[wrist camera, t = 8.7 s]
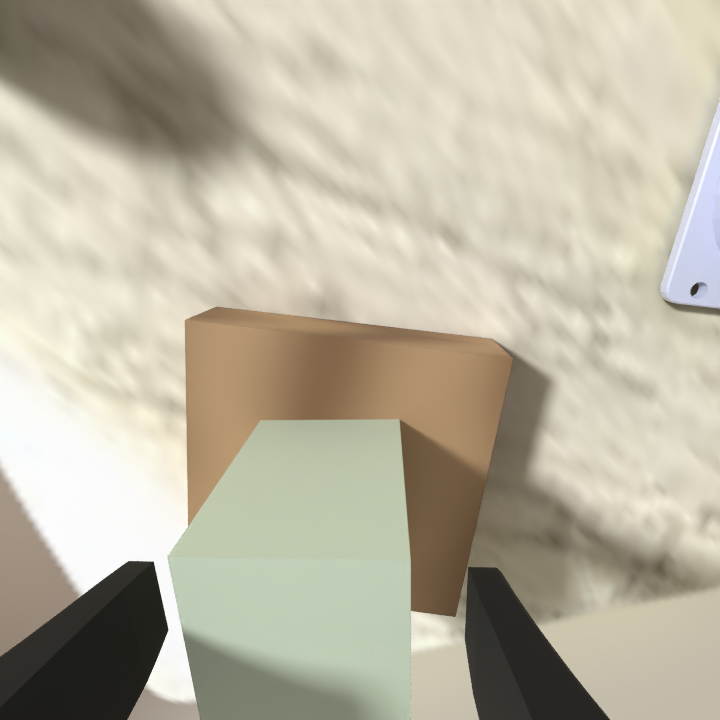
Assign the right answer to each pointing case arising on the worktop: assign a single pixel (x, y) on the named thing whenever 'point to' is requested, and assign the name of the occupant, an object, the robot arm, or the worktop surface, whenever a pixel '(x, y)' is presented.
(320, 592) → the sage block
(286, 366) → the walnut base
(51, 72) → the worktop surface
